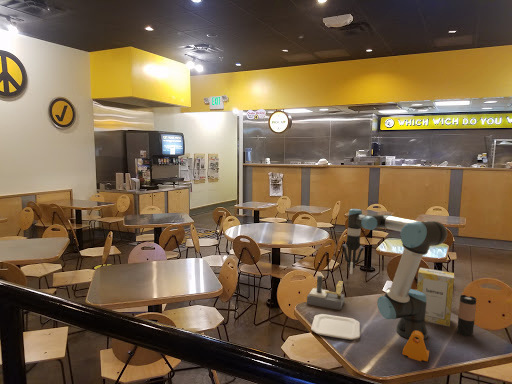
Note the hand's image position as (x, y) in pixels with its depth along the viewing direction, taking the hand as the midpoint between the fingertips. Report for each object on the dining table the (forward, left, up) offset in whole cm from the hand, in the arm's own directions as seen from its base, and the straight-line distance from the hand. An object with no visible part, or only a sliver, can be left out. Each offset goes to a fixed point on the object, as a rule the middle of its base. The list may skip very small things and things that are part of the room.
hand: (351, 273), depth 222 cm
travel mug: (-4, -62, -23) cm, 66 cm away
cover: (+4, +19, -18) cm, 26 cm away
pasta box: (+8, -47, -23) cm, 53 cm away
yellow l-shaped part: (+4, +10, -18) cm, 21 cm away
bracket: (-41, -36, -23) cm, 59 cm away
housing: (+4, +15, -23) cm, 27 cm away
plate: (-29, +3, -23) cm, 38 cm away
